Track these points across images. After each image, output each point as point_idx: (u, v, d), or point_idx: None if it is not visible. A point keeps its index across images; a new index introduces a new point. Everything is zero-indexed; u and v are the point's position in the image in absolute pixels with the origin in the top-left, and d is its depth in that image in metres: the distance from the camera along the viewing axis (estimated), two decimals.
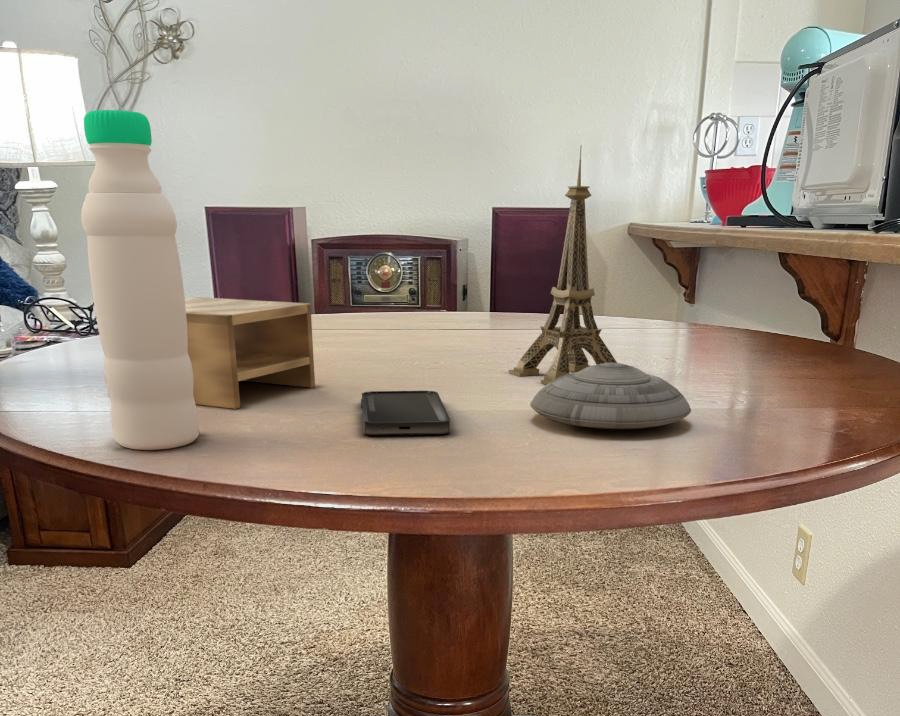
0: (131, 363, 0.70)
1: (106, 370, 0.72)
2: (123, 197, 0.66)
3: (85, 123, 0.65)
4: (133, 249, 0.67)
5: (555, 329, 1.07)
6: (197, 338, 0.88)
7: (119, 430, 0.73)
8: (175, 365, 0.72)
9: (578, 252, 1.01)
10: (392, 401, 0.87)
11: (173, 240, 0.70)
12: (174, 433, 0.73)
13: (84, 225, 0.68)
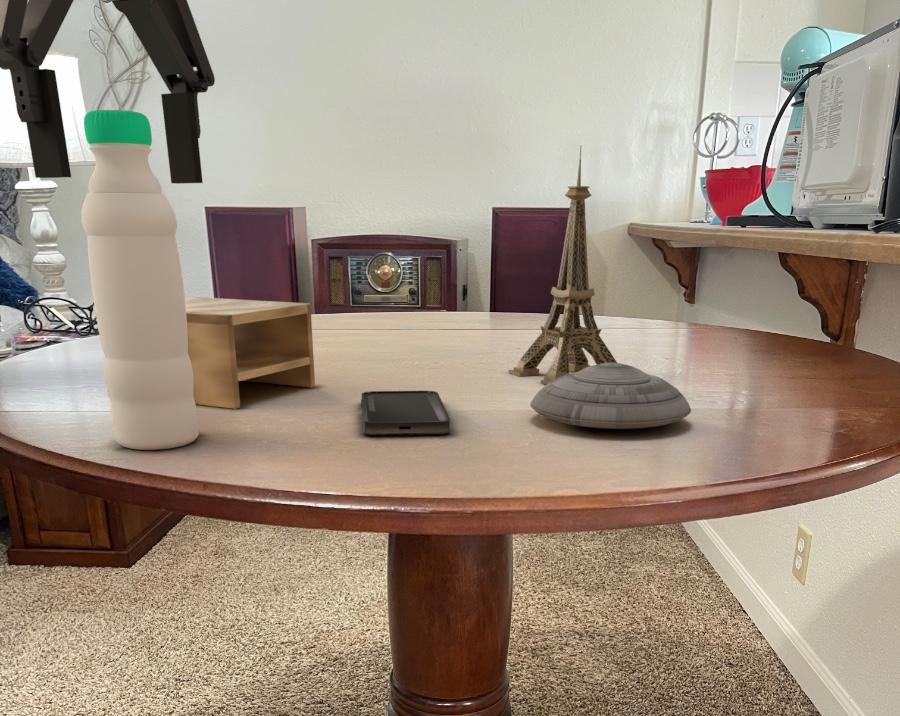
0: (131, 363, 0.70)
1: (106, 370, 0.72)
2: (123, 197, 0.66)
3: (85, 123, 0.65)
4: (133, 249, 0.67)
5: (555, 329, 1.07)
6: (197, 338, 0.88)
7: (119, 430, 0.73)
8: (175, 365, 0.72)
9: (578, 252, 1.01)
10: (392, 401, 0.87)
11: (173, 240, 0.70)
12: (174, 433, 0.73)
13: (84, 225, 0.68)
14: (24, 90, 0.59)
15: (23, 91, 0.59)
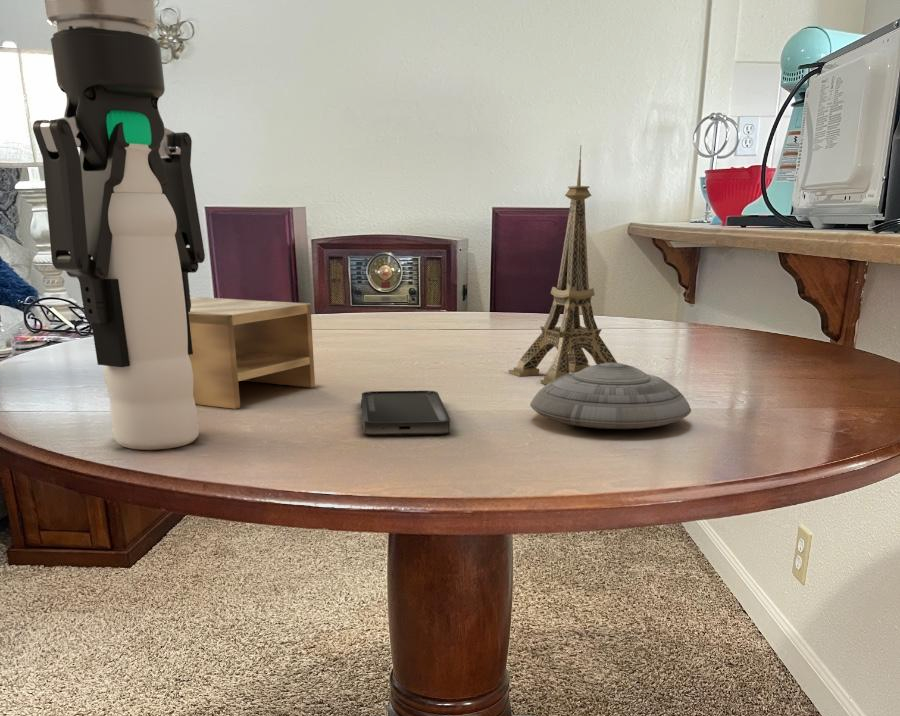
0: (131, 363, 0.70)
1: (106, 370, 0.72)
2: (123, 197, 0.66)
3: None
4: (133, 249, 0.67)
5: (555, 329, 1.07)
6: (197, 338, 0.88)
7: (119, 430, 0.73)
8: (175, 365, 0.72)
9: (578, 252, 1.01)
10: (392, 401, 0.87)
11: (173, 240, 0.70)
12: (174, 433, 0.73)
13: None
14: (91, 298, 0.67)
15: (90, 298, 0.67)
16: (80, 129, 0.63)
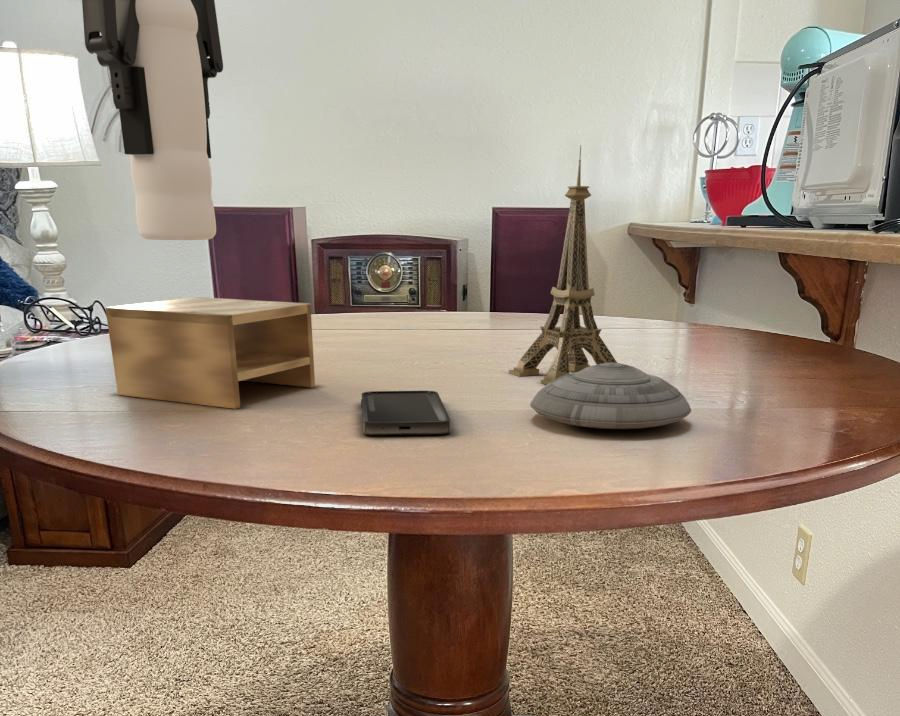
0: (155, 152, 0.77)
1: (132, 162, 0.79)
2: None
3: None
4: (158, 38, 0.74)
5: (555, 329, 1.07)
6: (197, 338, 0.88)
7: (144, 220, 0.80)
8: (195, 157, 0.79)
9: (578, 252, 1.01)
10: (392, 401, 0.87)
11: (194, 37, 0.76)
12: (194, 224, 0.80)
13: None
14: (120, 83, 0.74)
15: (119, 83, 0.74)
16: None
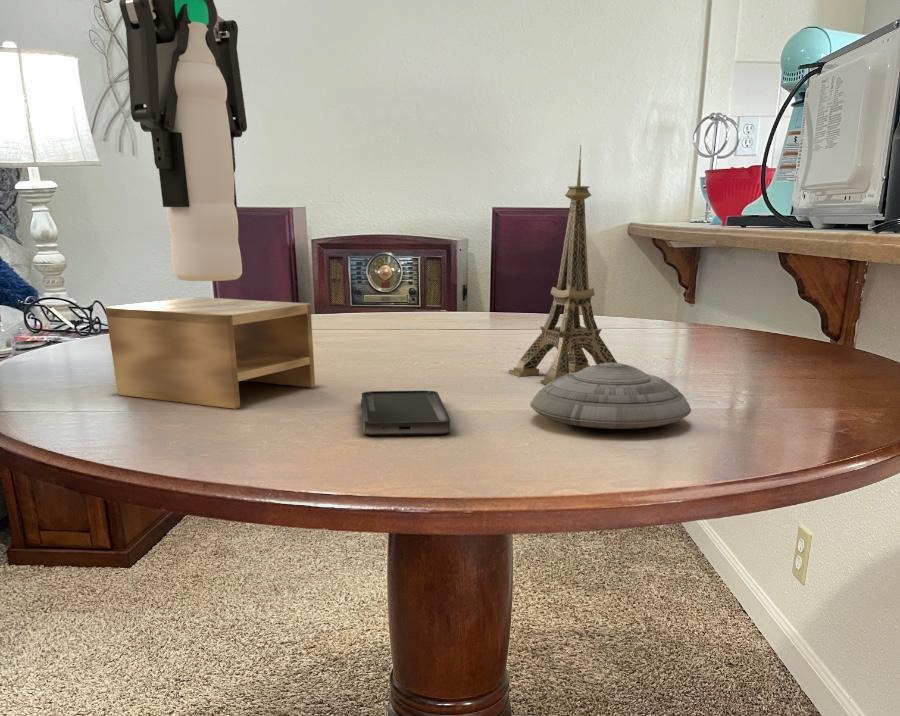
0: (190, 205, 0.88)
1: (169, 213, 0.89)
2: (187, 65, 0.83)
3: None
4: (194, 107, 0.84)
5: (555, 329, 1.07)
6: (197, 338, 0.88)
7: (179, 264, 0.90)
8: (225, 209, 0.89)
9: (578, 252, 1.01)
10: (392, 401, 0.87)
11: (224, 105, 0.87)
12: (224, 267, 0.90)
13: None
14: (161, 147, 0.84)
15: (160, 147, 0.84)
16: (155, 6, 0.80)
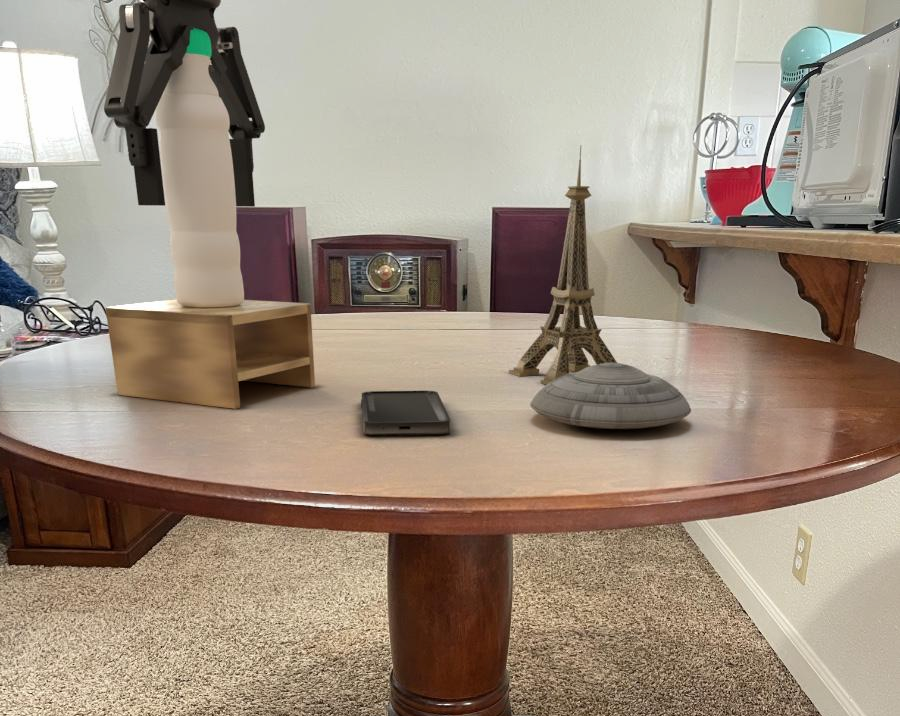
0: (193, 234, 0.89)
1: (172, 241, 0.90)
2: (190, 97, 0.84)
3: None
4: (197, 138, 0.85)
5: (555, 329, 1.07)
6: (197, 338, 0.88)
7: (182, 291, 0.91)
8: (227, 237, 0.90)
9: (578, 252, 1.01)
10: (392, 401, 0.87)
11: (227, 135, 0.88)
12: (226, 294, 0.92)
13: (158, 120, 0.86)
14: (135, 143, 0.82)
15: (134, 143, 0.82)
16: (155, 23, 0.81)
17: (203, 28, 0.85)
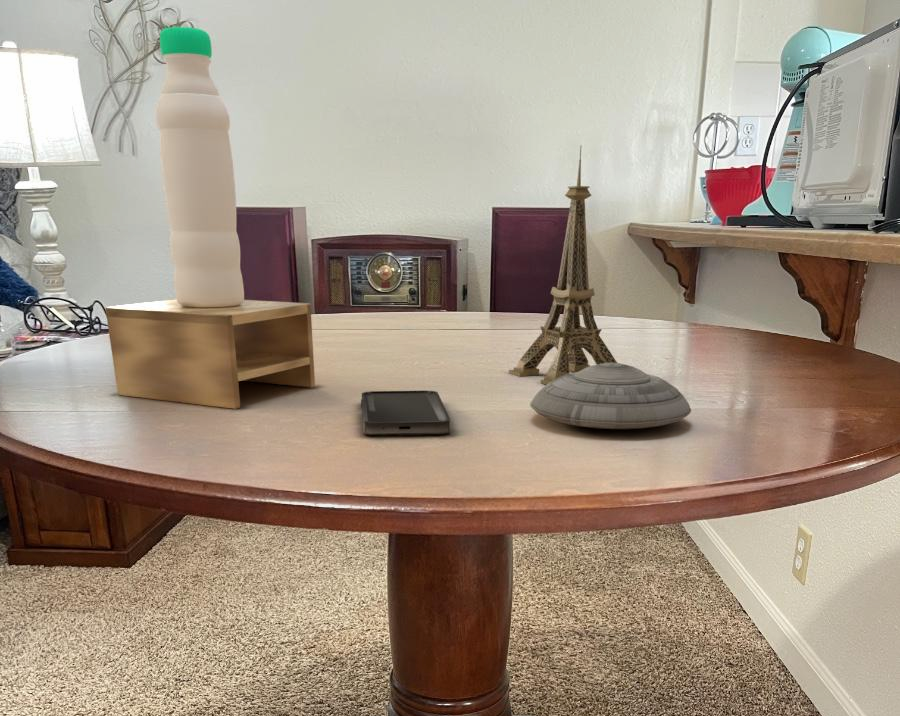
0: (193, 234, 0.89)
1: (172, 241, 0.90)
2: (190, 96, 0.84)
3: (161, 37, 0.83)
4: (197, 138, 0.85)
5: (555, 329, 1.07)
6: (197, 338, 0.88)
7: (182, 291, 0.91)
8: (227, 237, 0.90)
9: (578, 252, 1.01)
10: (392, 401, 0.87)
11: (227, 135, 0.88)
12: (226, 294, 0.92)
13: (158, 120, 0.86)
14: None
15: None
16: None
17: None
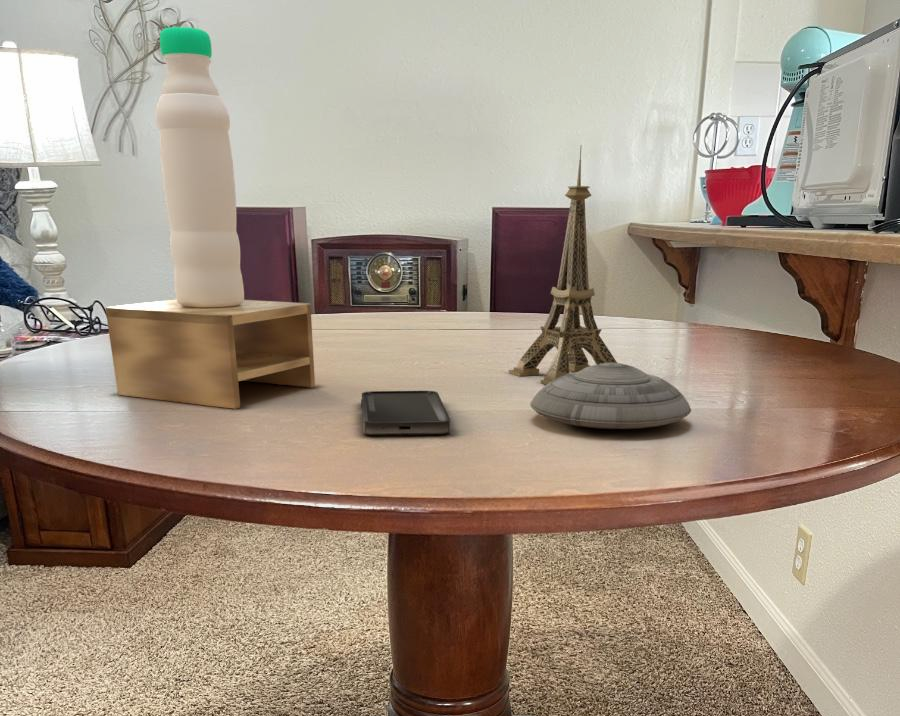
0: (193, 234, 0.89)
1: (172, 241, 0.90)
2: (190, 96, 0.84)
3: (161, 37, 0.83)
4: (197, 138, 0.85)
5: (555, 329, 1.07)
6: (197, 338, 0.88)
7: (182, 291, 0.91)
8: (227, 237, 0.90)
9: (578, 252, 1.01)
10: (392, 401, 0.87)
11: (227, 135, 0.88)
12: (226, 294, 0.92)
13: (158, 120, 0.86)
14: None
15: None
16: None
17: None
